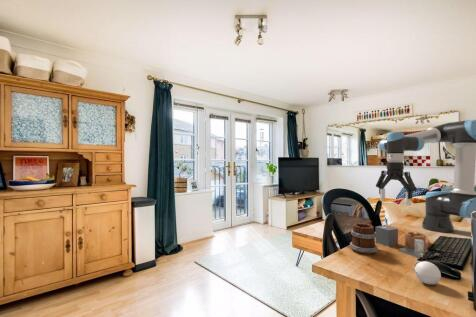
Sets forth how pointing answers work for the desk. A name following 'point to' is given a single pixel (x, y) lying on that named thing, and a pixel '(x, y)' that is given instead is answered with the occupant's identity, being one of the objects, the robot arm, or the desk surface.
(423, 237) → the bracket
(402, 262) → the desk surface
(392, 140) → the robot arm
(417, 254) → the shaft base
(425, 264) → the white egg
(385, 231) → the squarish grey box
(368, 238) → the brown banded cylinder
